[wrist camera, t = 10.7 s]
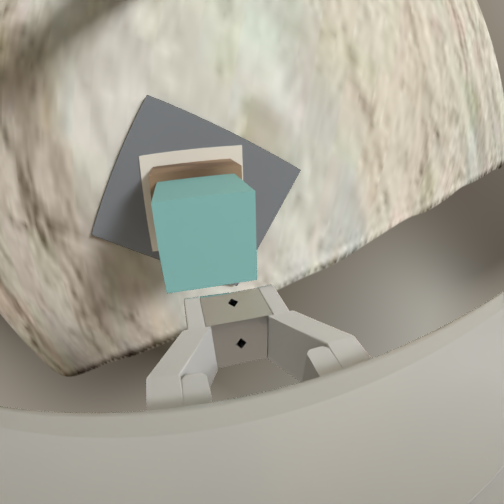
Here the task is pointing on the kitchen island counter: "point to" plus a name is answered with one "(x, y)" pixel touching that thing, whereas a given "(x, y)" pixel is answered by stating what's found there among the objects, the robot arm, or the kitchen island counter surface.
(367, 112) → the kitchen island counter surface
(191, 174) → the walnut block
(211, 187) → the teal cube
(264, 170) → the slate mat
